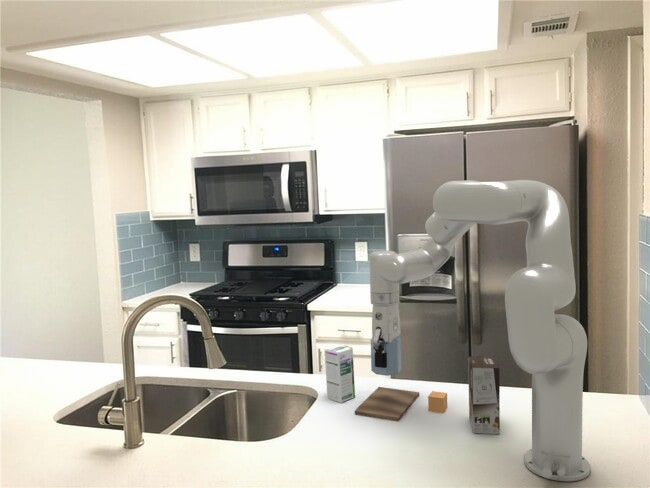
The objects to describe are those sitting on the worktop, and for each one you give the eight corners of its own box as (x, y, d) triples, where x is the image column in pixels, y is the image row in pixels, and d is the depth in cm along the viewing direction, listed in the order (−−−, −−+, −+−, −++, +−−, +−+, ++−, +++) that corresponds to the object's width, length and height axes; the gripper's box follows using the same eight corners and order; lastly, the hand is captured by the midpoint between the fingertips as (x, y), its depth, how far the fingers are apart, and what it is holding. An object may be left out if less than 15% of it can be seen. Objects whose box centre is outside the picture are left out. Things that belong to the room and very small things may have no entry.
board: (398, 421, 137) (398, 417, 137) (354, 414, 143) (354, 410, 143) (419, 395, 153) (419, 392, 153) (378, 390, 159) (378, 386, 159)
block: (443, 413, 141) (443, 398, 141) (428, 411, 143) (428, 396, 143) (447, 407, 145) (447, 392, 144) (432, 405, 147) (432, 391, 146)
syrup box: (341, 403, 150) (338, 352, 149) (326, 398, 154) (324, 348, 153) (355, 397, 154) (353, 347, 152) (340, 392, 158) (338, 343, 157)
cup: (395, 376, 142) (394, 343, 141) (368, 373, 146) (367, 340, 144) (403, 367, 149) (403, 335, 148) (378, 364, 152) (377, 333, 151)
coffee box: (500, 434, 128) (500, 367, 126) (472, 433, 129) (471, 367, 127) (495, 418, 137) (494, 355, 135) (468, 417, 138) (467, 355, 136)
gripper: (387, 305, 136) (388, 374, 138) (408, 292, 151) (409, 354, 153) (359, 303, 139) (361, 371, 141) (382, 290, 154) (384, 351, 156)
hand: (386, 361), depth 147 cm, fingers closed on cup, 7 cm apart
